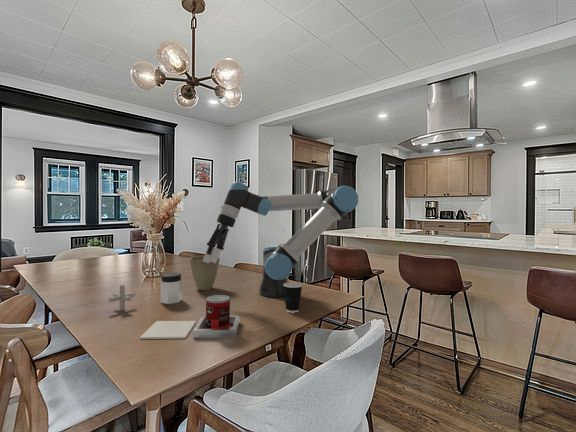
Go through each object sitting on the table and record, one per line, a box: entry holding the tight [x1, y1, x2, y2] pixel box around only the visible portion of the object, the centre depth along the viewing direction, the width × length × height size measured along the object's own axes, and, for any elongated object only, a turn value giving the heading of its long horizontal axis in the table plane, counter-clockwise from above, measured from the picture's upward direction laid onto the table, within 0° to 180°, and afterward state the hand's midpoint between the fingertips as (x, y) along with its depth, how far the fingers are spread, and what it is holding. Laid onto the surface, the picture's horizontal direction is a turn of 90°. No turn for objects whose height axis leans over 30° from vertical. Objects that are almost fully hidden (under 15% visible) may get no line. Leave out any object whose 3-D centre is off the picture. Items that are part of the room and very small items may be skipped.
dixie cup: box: [283, 281, 304, 314], centre depth 125 cm, size 8×8×11 cm
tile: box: [139, 320, 197, 340], centre depth 104 cm, size 14×14×1 cm
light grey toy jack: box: [108, 284, 136, 311], centre depth 124 cm, size 10×10×10 cm
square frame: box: [192, 315, 241, 339], centre depth 104 cm, size 13×13×2 cm
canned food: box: [205, 294, 231, 329], centre depth 104 cm, size 8×8×11 cm
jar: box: [160, 272, 183, 305], centre depth 136 cm, size 9×8×12 cm
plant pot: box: [189, 255, 221, 291], centre depth 158 cm, size 15×15×16 cm
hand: (209, 262), depth 130 cm, fingers open, 13 cm apart
